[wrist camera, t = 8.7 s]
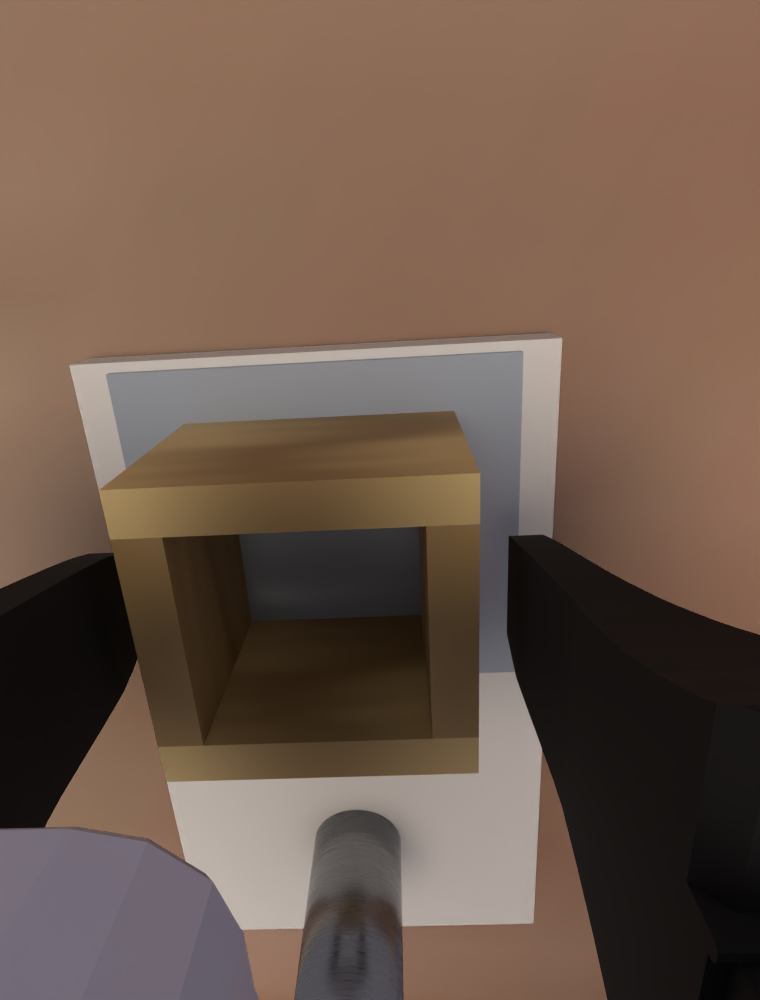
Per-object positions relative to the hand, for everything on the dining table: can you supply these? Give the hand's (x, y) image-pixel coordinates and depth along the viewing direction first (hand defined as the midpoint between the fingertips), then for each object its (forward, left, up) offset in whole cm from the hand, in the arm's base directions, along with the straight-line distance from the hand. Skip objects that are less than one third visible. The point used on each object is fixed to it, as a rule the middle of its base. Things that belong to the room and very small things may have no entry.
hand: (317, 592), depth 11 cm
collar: (0, 0, -2) cm, 2 cm away
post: (0, +9, -4) cm, 10 cm away
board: (0, +4, -4) cm, 6 cm away
